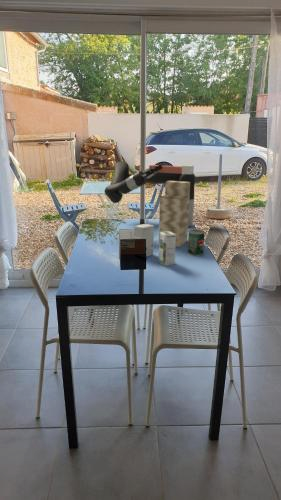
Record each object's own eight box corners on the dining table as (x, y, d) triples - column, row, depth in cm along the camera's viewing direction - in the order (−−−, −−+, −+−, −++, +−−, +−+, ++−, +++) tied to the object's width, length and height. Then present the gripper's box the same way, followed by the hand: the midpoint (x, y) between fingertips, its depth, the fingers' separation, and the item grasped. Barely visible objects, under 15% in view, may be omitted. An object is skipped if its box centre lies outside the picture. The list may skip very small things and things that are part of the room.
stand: (158, 244, 199) (160, 183, 189) (166, 237, 210) (168, 180, 200) (180, 247, 195) (183, 185, 184) (187, 240, 206) (190, 182, 196)
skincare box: (142, 258, 178) (142, 228, 173) (133, 255, 182) (133, 225, 177) (153, 254, 184) (154, 224, 179) (144, 251, 188) (145, 222, 183)
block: (148, 171, 196) (148, 164, 195) (151, 171, 200) (151, 163, 199) (191, 174, 188) (191, 166, 187) (193, 173, 191) (193, 165, 190)
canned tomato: (204, 255, 182) (205, 234, 179) (187, 255, 183) (189, 233, 179) (202, 250, 190) (204, 229, 186) (187, 250, 190) (188, 229, 187)
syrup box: (158, 262, 173) (158, 231, 169) (169, 260, 175) (170, 230, 171) (163, 266, 168) (164, 235, 164) (175, 264, 170) (176, 234, 166)
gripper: (144, 185, 209) (170, 171, 201) (134, 189, 197) (161, 174, 189) (138, 173, 209) (164, 158, 200) (127, 176, 196) (154, 160, 188)
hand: (162, 166), depth 195 cm, fingers closed on block, 3 cm apart
